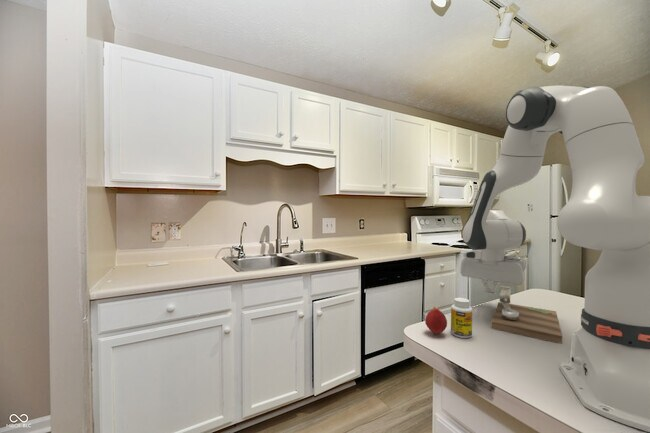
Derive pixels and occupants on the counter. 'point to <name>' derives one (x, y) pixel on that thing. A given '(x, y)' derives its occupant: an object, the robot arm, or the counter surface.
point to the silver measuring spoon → (505, 300)
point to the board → (529, 323)
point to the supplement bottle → (461, 318)
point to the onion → (436, 321)
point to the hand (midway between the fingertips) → (490, 292)
